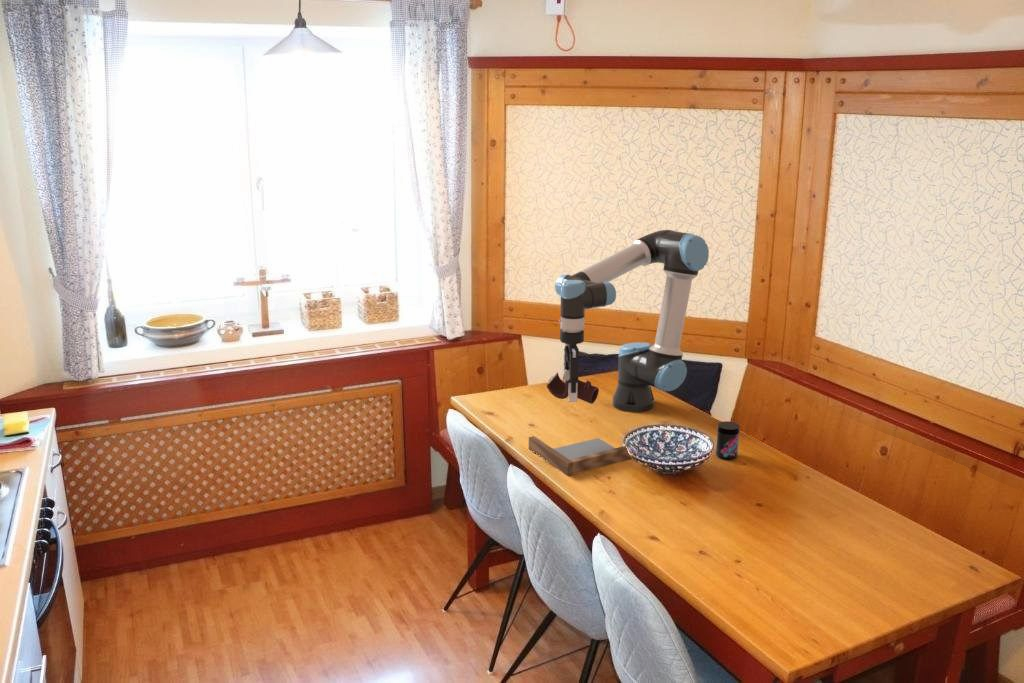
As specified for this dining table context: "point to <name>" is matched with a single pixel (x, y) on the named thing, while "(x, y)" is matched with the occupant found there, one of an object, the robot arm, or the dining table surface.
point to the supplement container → (727, 440)
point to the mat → (584, 448)
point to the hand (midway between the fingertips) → (570, 395)
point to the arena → (580, 462)
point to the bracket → (562, 389)
